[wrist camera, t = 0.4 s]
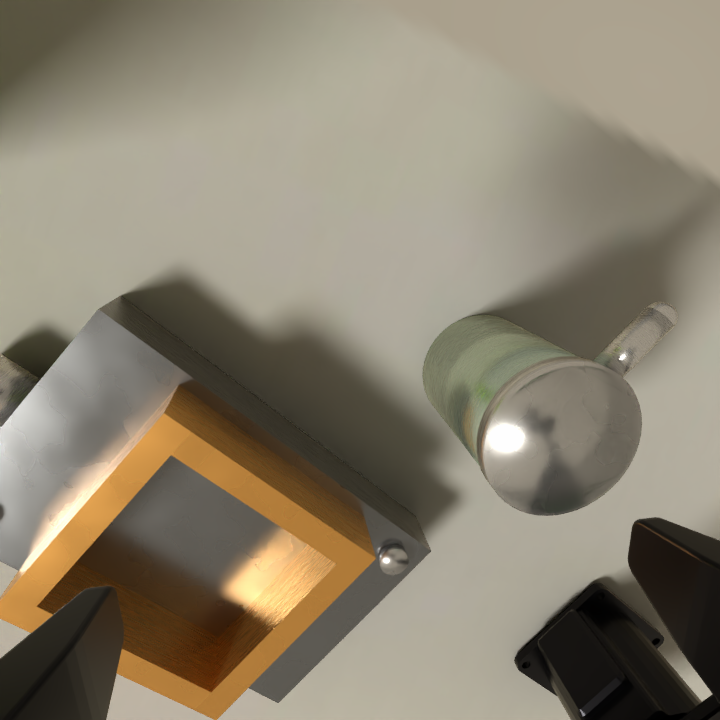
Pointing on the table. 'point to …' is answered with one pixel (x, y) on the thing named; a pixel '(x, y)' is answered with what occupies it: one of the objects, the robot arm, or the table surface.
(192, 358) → the grey orange socket fixture
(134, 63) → the table surface
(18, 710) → the robot arm
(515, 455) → the spout can
